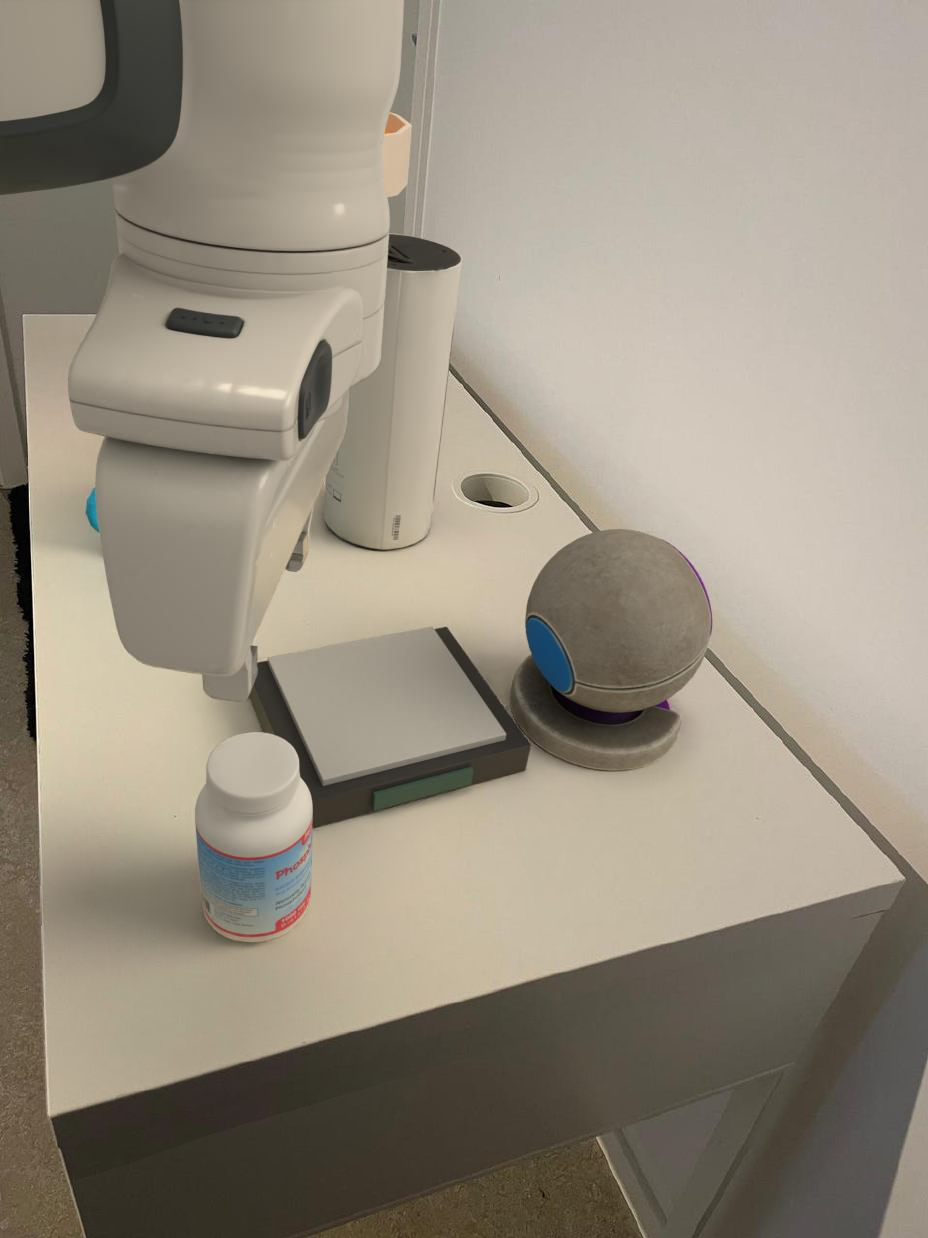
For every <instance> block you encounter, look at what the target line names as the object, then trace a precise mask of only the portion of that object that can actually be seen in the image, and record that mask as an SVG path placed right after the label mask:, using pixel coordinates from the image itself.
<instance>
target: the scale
mask: <svg viewBox="0 0 928 1238" xmlns="http://www.w3.org/2000/svg"><path fill="white" fill-rule="evenodd" d="M257 667H258V674H257V677H256V679H255V682H254V685H253V687H252V689H251V691H250V694H249V696H248V698H249V700H250V703H251V705H252V707H253V710H254V712H255V714H256V717H257V719H258V722H259V725H260V727H261V729H262V732H263V733H269V734H273V735H276V736H278V737H280V738H282V739H284V740H286V741H287V742H288V743H290V744H291V745H292V747H293V748H294V749H295V751H296V753H297V755H298V758H299V772H300V777H301V779H302V780H303V781H304V782H305V784H306V785H307V787H308V789H309V791H310V794H311V798H312V806H313V822H312V829H315V828H319V827H324V826H326V825H332V824H335V823H338V822H341V821H345V820H349V819H352V818H356V817H361V816H364V815H368V814H371V813H374V812H375V813H376V812H379V811H381V810H382V811H383V810H386V809H390V808H394V807H396V806H400V805H404V804H408V803H411V802H415V801H419V800H422V799H426V798H429V797H434V796H437V795H441V794H445V793H448V792H452V791H455V790H459V789H463V788H467V787H470V786H473V785H477V784H481V783H486V782H489V781H492V780H496V779H499V778H503V777H507V776H511V775H514V774H518V773H521V772H526V770H527V766H528V761H529V756H530V751H531V747H532V744H531V743H530V742H529V740H528V739H527V737H526V736H525V735H524V732H523V731H522V729H521V728H519V725H517V722H515V720H514V719H513V717H512V716H511V715H510V714H509V712H508V710H507V709H506V708H505V706H504V705H503V704H502V701H500V699H499V698H498V697H497V695H496V694H495V693H494V691H493V690H492V688H491V687H490V686H489V684H488V682H487V681H486V680H485V678H484V677H483V676H482V674H481V672H480V671H479V670H478V669H477V667H476V665H475V664H474V663H473V661H472V660H471V659H470V657H469V656H468V654H467V653H466V651H465V650H464V649H463V647H462V646H461V644H460V643H459V641H458V640H457V639H456V638H455V636H454V634H453V633H452V632H451V630H450V629H449V628H448V626H442V627H437V628H434V627H433V626H427V627H422V628H417V629H413V630H412V629H411V630H406V631H401V632H397V633H396V632H395V633H391V634H386V635H380V636H375V637H370V638H363V639H358V640H354V641H347V642H342V643H337V644H332V645H331V644H330V645H327V646H322V647H316V648H311V649H305V650H299V651H295V652H294V651H293V652H289V653H285V654H279V655H273V656H268V657H267V660H263V661H257Z"/></svg>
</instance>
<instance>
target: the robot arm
mask: <svg viewBox="0 0 928 1238" xmlns="http://www.w3.org/2000/svg"><path fill="white" fill-rule="evenodd" d="M404 11H405V0H0V196H4V195H5V196H6V195H15V194H23V193H33V192H38V191H45V190H46V191H48V190H55V189H61V188H68V187H73V186H74V187H75V186H80V185H86V184H91V183H95V182H100V181H106V180H107V181H108V182H109V183H110V185H111V188H112V192H113V202H114V212H115V213H114V214H115V222H116V223H115V224H116V235H117V243H118V244H117V245H118V254H117V255H116V256H115V257H114V258H113V260H112V262H111V266H110V271H109V276H108V282H107V286H106V290H105V293H104V296H103V298H102V301H101V303H100V306H99V308H98V311H97V313H96V314H95V317H94V319H93V321H92V323H91V325H90V327H89V329H88V330H87V333H86V334H85V336H84V338H83V340H82V342H81V343H80V345H79V347H78V348H77V350H76V352H75V353H74V355H73V357H72V359H71V360H72V361H71V362H70V365H69V368H68V374H67V391H68V400H69V406H70V411H71V416H72V420H73V423H74V425H75V427H76V429H78V430H79V431H81V432H84V433H87V434H92V435H95V436H96V435H97V436H101V437H103V440H102V441H101V445H100V448H99V451H98V454H97V460H96V466H95V476H94V477H95V478H94V480H95V481H94V487H95V498H96V510H97V520H98V527H99V533H100V534H99V533H98V534H99V539H100V540H99V541H100V546H101V553H102V554H101V555H102V559H103V565H104V571H105V577H106V582H107V588H108V594H109V598H110V599H109V600H110V603H111V608H112V614H113V618H114V619H113V620H114V623H115V627H116V631H117V635H118V638H119V640H120V643H121V645H122V646H123V648H124V649H125V651H126V652H127V654H129V655H130V656H131V657H132V658H134V659H135V660H136V661H137V662H139V663H141V664H142V665H145V666H148V667H152V668H157V669H163V670H167V671H173V672H180V673H186V674H194V675H195V674H196V675H201V680H202V690H203V692H204V694H205V695H206V696H208V697H210V698H211V699H214V700H221V701H226V702H227V701H228V702H235V703H243V702H245V701H246V700H248V698H249V694H250V691H251V689H252V687H253V685H254V682H255V679H256V677H257V674H258V667H257V662H258V658H259V655H258V645H252V644H253V643H254V639H255V638H256V635H257V634H258V631H259V628H260V627H261V624H262V622H263V620H264V618H265V615H266V613H267V610H268V608H269V606H270V604H271V602H272V600H273V597H274V595H275V592H276V591H277V588H278V586H279V584H280V581H281V579H282V577H283V575H284V573H285V570H286V571H287V572H291V573H292V572H293V573H298V572H299V571H301V569H302V567H303V566H304V564H305V561H306V559H307V557H308V555H309V553H310V543H311V541H310V539H311V524H312V519H313V515H314V510H315V506H316V505H315V504H316V501H317V499H318V496H319V494H320V492H321V489H322V487H323V485H324V483H325V481H326V476H327V474H328V471H329V469H330V467H331V465H332V462H333V460H334V458H335V456H336V453H337V451H338V449H339V447H340V444H341V442H342V440H343V438H344V434H345V430H346V425H347V418H348V405H349V388H350V386H352V385H355V384H357V383H359V382H361V381H363V380H364V379H366V378H367V377H369V376H370V375H371V374H372V373H373V372H374V371H375V370H376V369H377V367H378V365H379V363H380V360H381V347H382V332H383V317H384V302H385V290H386V276H387V261H388V242H389V233H390V229H391V228H390V227H391V210H390V204H389V197H387V194H386V189H385V184H384V178H383V166H382V150H383V139H384V134H385V128H386V124H387V120H388V116H389V113H390V112H391V109H392V107H393V104H394V102H395V99H396V95H397V93H398V89H399V83H400V77H401V69H402V53H403V51H402V49H403V33H404V32H403V31H404V14H405V12H404Z"/></svg>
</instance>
